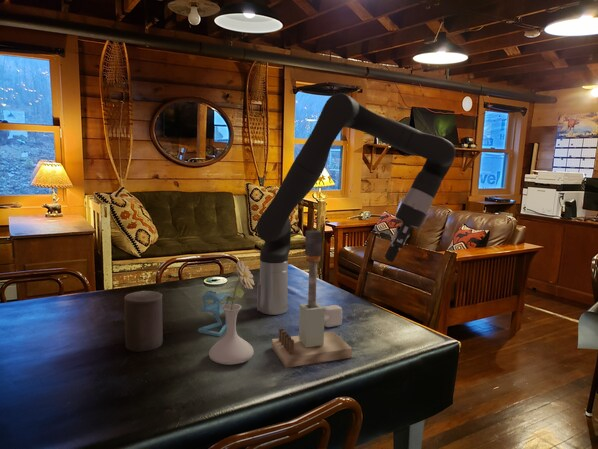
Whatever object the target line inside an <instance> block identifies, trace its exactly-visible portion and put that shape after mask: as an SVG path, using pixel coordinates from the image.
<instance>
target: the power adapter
mask: <svg viewBox="0 0 598 449" xmlns="http://www.w3.org/2000/svg"><path fill="white" fill-rule="evenodd" d="M323 307H324V308H325V314H324V328H333V327H338V326H341V325H342V324H343V323H342V322H343V308H342V307H341V306H339V305H338V304H331V305H323Z"/></svg>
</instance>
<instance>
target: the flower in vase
mask: <svg viewBox="0 0 598 449" xmlns="http://www.w3.org/2000/svg"><path fill="white" fill-rule="evenodd" d="M235 268H236V271H235V272H236V273H237V277H238V280H237V282H236V285H235V287H234V292H233V295H232V297H231V295H230V296H228V297H226V299H225V301H229V302H231V303H229V304H225V303H224V304H225V305H223V306H221V309H222V310H223V311H224V313H223V314H224V315H225V319H226V321H227V329H226V333H225V335H224V336H223V337H222V338H220V339H219V340H218V341H217V342H216V343H214V344H213V345H212V346H211V347H210V350H209V351H208V357H209V358H210V359H211V361H213V362H214V363H217V364H221V365H238V364H242V363H245V362H247V361H249V360H251V359H252V357H253V356H254V354H255V351H254V347H253V346H252V345H251V344H250V343H249V342H248V341H246V340H245V339H244V338H242V337H241V336H239V335H238V333H237V325H236V324H237V317H238V315H239V314H238V313H239V312H240V310H241V309H242V305H240V304H239V303H234V300H236V299H237V298H239V299H242V298H243V296H244V294H245V292H244V291H243V289H241V288H240V287H238V285H239V284H240V283H241V285H243V286H244V288H245V289H247V290H254V288H253V286H255V282H254V275H253V274H252V272H251V271H250V270H249V268H250V267H249V265H245V262H244V261H243V260H240V261H239V260H237V262H236V266H235ZM235 296H236V297H237V298H236V297H235Z"/></svg>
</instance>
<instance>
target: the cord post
mask: <svg viewBox="0 0 598 449" xmlns="http://www.w3.org/2000/svg"><path fill="white" fill-rule="evenodd" d="M304 237H305V240H304V242H305V243H304V245H305V246H304V248H305V249H304V254H305V261H306V262H308V293H307V294H308V295H307V296H308V297H307V298H308V299H307V303H308V308H316V302H317V278H318V277H317V272H318V262H321V256H322V250H323V248H322V247H323V244H322V243H323V232H322V231H320V230H315V229H311V230H305V235H304ZM271 349H272V350H273V352H274V353H275V355H276V356H277V357H278V359H279V360H280V361H281V363H282V364H283V366H284V367H285V369H287V368H293V367H297V366H298V367H300V366H305V365H307V366H308V365H313V364H319V363H326V362H330V361H331V362H332V361H337V360H345V359H350V358H353V348H352V347H351V346H350V345H349V344H348V343H347V342H345V341H344V339H342V338H341V337H340V336H339V335H337V333H335V332H334V331H333V330H331V331H324V345H321V346H314V347H307V348H306V347H305V346H304V345H303V344H302V343H301V342H300V341H299V335H292V336H290V335H289V334H288V333H287V331H286V330H285V329H284V328H283V327H279V328H278V338H272V339H271Z"/></svg>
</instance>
